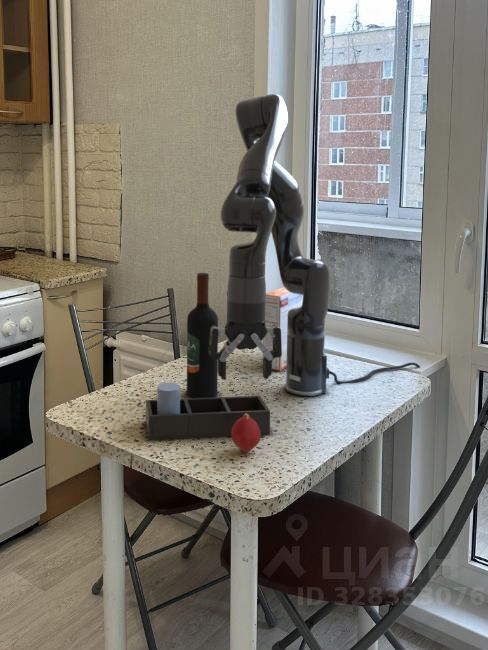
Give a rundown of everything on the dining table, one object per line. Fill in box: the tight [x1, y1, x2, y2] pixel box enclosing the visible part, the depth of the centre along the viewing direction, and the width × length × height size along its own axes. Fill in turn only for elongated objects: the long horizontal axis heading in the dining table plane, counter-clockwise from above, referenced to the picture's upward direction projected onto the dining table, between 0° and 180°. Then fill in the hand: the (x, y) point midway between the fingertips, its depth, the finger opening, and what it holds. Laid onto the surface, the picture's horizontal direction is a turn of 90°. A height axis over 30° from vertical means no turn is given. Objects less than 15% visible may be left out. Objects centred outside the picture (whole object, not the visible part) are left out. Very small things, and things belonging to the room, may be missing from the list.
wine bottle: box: [186, 272, 219, 398], centre depth 164 cm, size 8×8×30 cm
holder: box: [145, 395, 271, 441], centre depth 145 cm, size 26×9×5 cm, turn 97°
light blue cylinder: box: [156, 382, 181, 415], centre depth 144 cm, size 5×5×9 cm
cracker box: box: [262, 286, 303, 372], centre depth 188 cm, size 14×6×21 cm, turn 144°
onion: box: [230, 414, 262, 453], centre depth 134 cm, size 6×6×8 cm
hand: (244, 378), depth 133 cm, fingers open, 8 cm apart
